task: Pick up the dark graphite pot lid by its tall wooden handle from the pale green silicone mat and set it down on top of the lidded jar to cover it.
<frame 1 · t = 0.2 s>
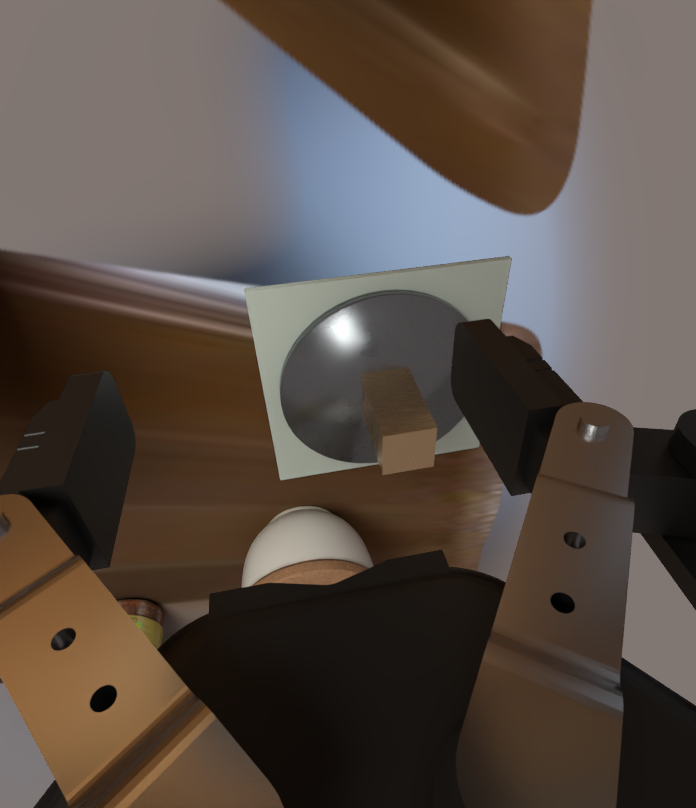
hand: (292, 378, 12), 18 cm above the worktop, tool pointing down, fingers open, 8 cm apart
sauce bottle: (128, 611, 48), on the worktop
lidded jar: (301, 526, 44), on the worktop
mat: (380, 379, 35), on the worktop
lid: (382, 382, 35), resting on mat
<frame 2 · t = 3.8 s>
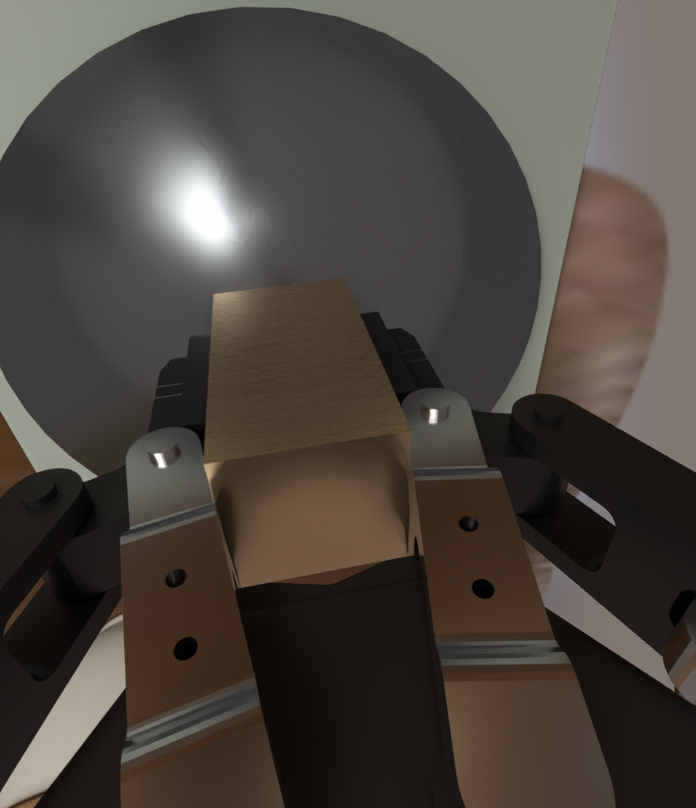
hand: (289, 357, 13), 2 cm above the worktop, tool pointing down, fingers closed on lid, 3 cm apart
lidded jar: (170, 637, 23), on the worktop
mat: (283, 321, 14), on the worktop
lid: (285, 328, 14), resting on mat, touching gripper
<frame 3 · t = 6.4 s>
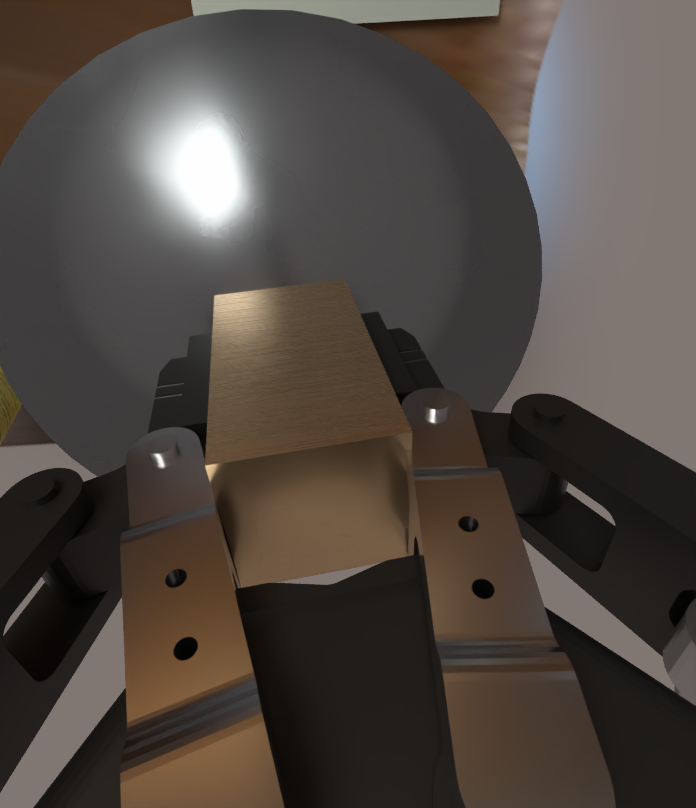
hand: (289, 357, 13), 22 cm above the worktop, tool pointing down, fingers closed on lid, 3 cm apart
sauce bottle: (0, 326, 34), on the worktop
lid: (285, 329, 14), point 21 cm above the worktop, touching gripper
when the fingers open (12 cm above the worktop, at t = 9.0 s): lid stays where it is, resting on lidded jar.
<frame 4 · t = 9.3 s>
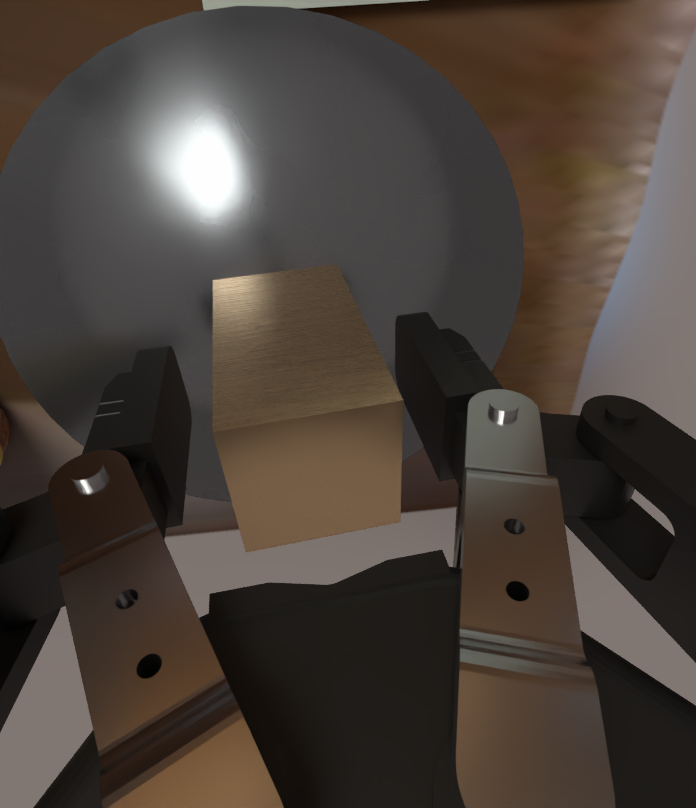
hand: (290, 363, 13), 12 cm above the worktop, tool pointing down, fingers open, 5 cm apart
lid: (280, 313, 15), point 9 cm above the worktop, touching lidded jar
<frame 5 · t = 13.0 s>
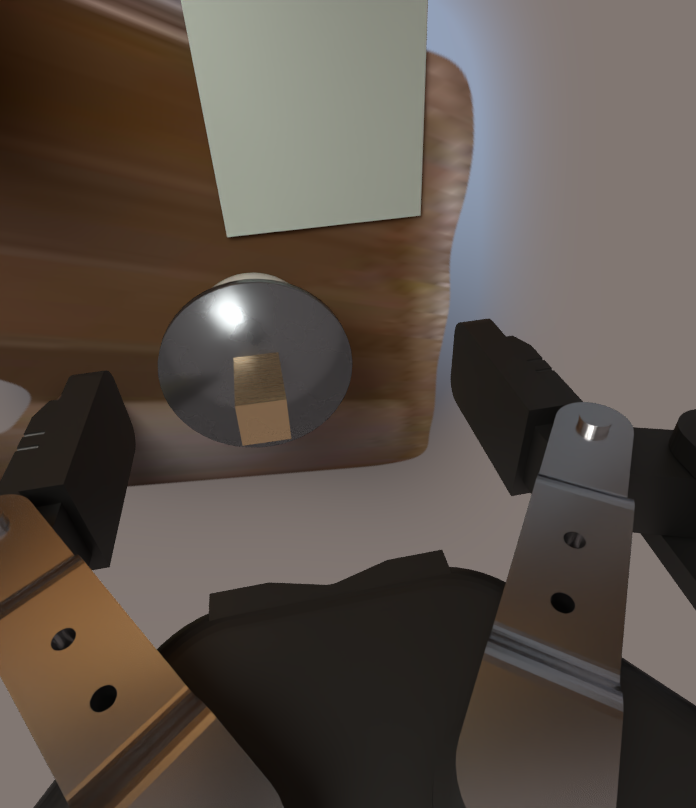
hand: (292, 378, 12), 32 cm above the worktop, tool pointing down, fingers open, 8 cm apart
lidded jar: (253, 311, 46), on the worktop, touching lid
mat: (316, 114, 37), on the worktop
lid: (258, 368, 38), point 9 cm above the worktop, touching lidded jar
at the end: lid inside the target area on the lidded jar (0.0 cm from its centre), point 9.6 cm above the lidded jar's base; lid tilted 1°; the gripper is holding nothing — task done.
